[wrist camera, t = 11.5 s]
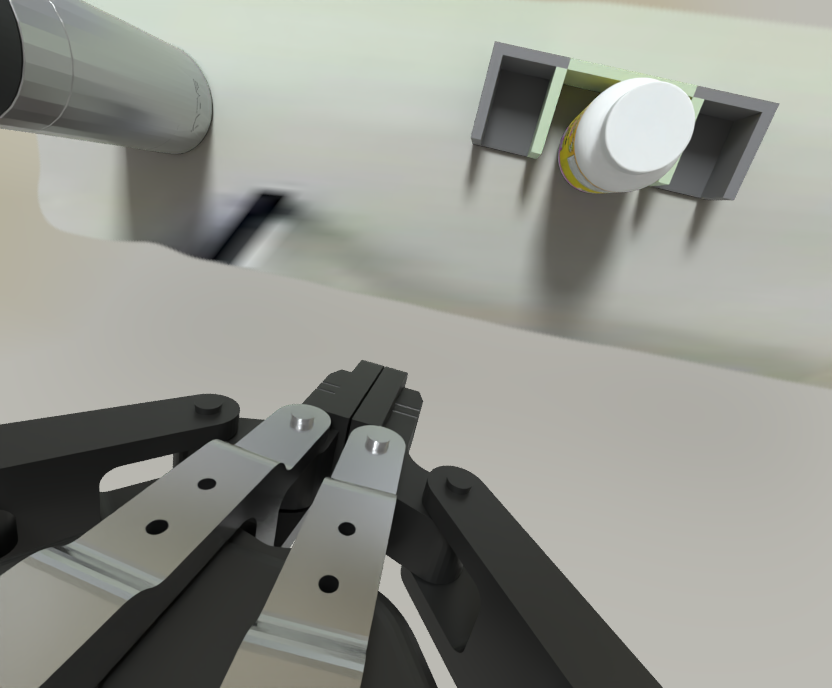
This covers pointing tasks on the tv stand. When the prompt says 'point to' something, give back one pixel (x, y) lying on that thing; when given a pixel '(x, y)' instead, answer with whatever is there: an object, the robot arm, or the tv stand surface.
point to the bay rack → (546, 73)
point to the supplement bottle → (627, 137)
